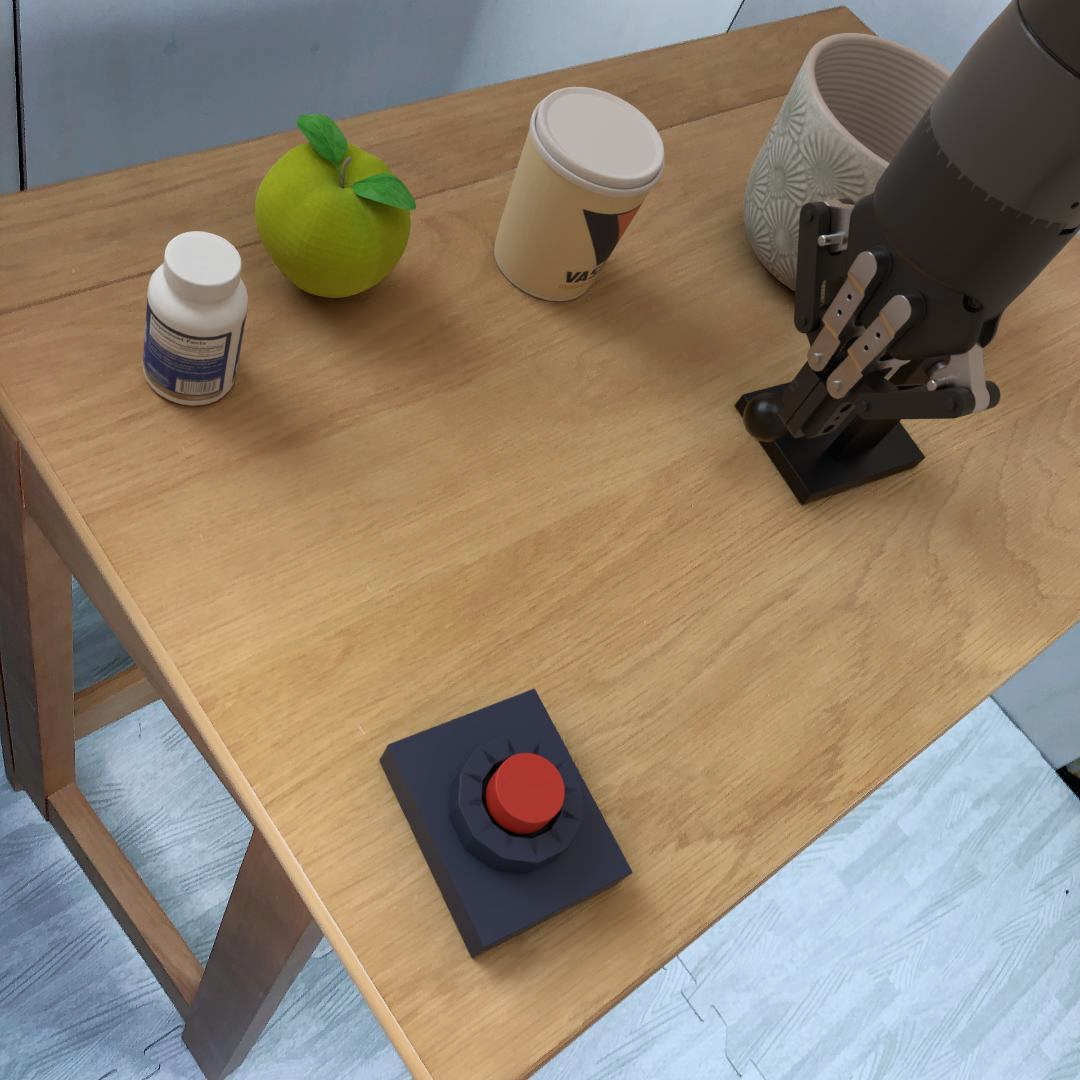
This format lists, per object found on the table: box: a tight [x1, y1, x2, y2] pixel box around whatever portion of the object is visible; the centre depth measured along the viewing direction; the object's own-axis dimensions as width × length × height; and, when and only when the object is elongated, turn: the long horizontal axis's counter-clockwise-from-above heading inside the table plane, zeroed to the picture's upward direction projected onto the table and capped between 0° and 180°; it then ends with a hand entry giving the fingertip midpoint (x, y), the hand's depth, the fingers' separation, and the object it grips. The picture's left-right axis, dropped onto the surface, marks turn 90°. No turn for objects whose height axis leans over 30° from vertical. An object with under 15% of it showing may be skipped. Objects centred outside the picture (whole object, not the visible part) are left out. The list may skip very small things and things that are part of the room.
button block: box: [378, 688, 633, 959], centre depth 59 cm, size 11×9×4 cm
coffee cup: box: [493, 86, 665, 302], centre depth 80 cm, size 9×9×12 cm
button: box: [486, 753, 565, 834], centre depth 57 cm, size 4×4×2 cm
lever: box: [742, 393, 789, 442], centre depth 76 cm, size 14×3×3 cm, turn 119°
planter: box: [742, 32, 953, 304], centre depth 89 cm, size 17×17×15 cm
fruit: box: [254, 113, 417, 299], centre depth 73 cm, size 9×9×10 cm
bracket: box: [734, 356, 951, 506], centre depth 80 cm, size 12×9×13 cm
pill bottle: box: [142, 230, 249, 407], centre depth 65 cm, size 5×5×10 cm
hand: (799, 424), depth 58 cm, fingers closed
